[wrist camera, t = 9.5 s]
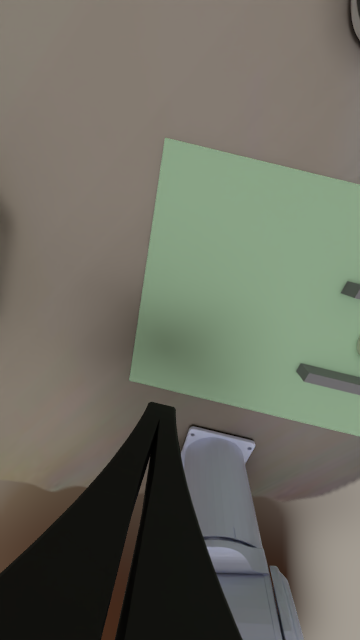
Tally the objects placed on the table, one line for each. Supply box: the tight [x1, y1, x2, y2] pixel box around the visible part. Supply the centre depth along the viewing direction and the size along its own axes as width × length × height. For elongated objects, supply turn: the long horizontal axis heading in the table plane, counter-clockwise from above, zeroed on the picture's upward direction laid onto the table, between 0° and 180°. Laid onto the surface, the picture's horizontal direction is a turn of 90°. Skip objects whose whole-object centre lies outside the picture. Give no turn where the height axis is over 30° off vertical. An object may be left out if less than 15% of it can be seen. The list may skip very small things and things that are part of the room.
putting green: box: [129, 138, 360, 436], centre depth 17 cm, size 21×26×1 cm
